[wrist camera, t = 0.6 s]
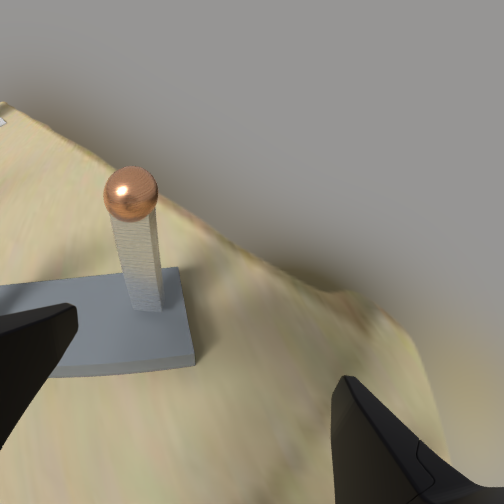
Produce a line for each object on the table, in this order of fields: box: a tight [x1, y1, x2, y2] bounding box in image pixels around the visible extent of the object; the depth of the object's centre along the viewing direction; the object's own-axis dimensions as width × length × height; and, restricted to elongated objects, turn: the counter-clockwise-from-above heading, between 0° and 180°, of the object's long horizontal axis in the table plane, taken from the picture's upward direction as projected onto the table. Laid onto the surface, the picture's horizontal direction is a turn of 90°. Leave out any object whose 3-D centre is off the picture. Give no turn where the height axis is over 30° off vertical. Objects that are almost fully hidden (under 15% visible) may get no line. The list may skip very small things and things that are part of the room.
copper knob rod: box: [103, 166, 165, 313], centre depth 18 cm, size 3×3×12 cm
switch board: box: [0, 267, 195, 378], centre depth 22 cm, size 9×23×2 cm, turn 107°
